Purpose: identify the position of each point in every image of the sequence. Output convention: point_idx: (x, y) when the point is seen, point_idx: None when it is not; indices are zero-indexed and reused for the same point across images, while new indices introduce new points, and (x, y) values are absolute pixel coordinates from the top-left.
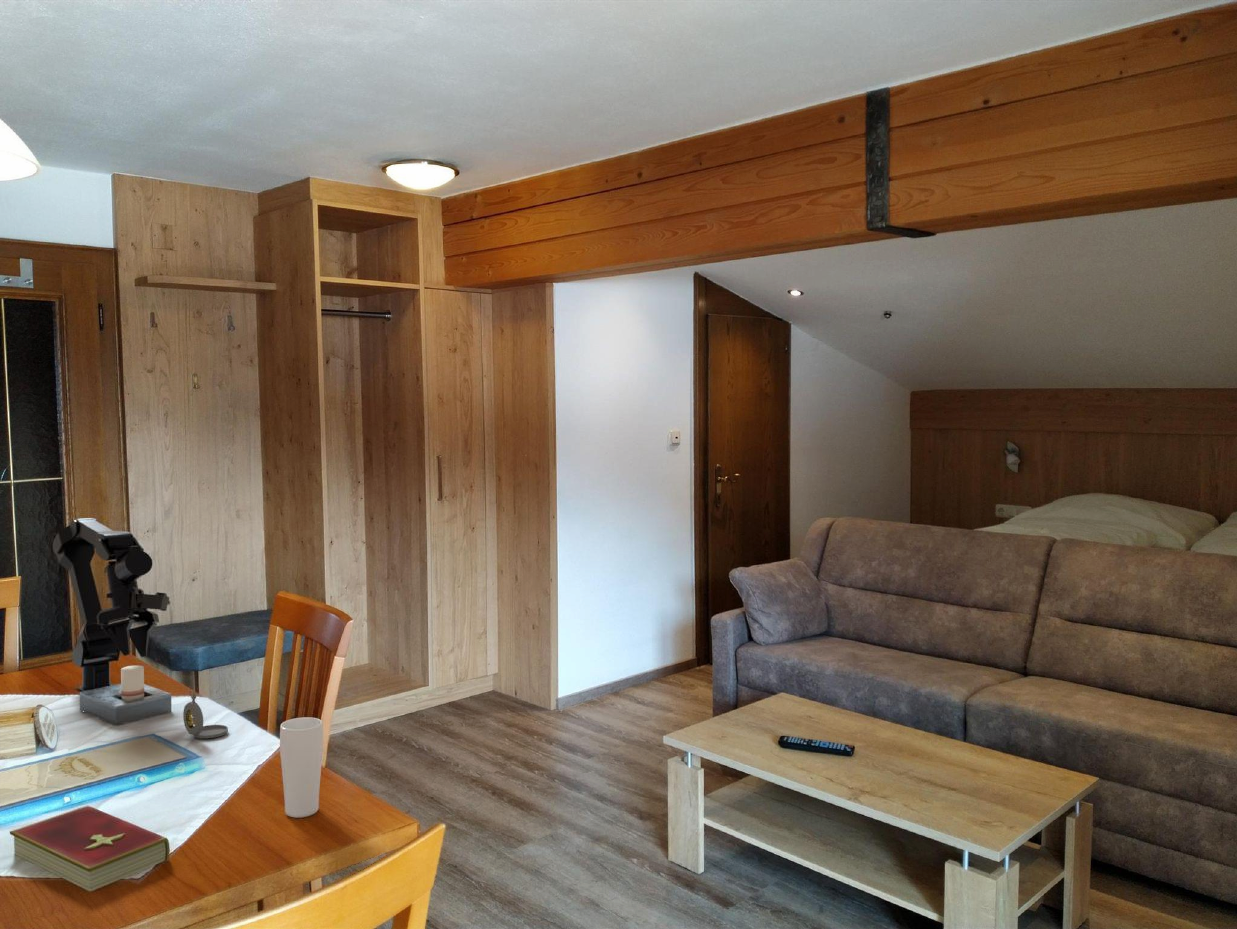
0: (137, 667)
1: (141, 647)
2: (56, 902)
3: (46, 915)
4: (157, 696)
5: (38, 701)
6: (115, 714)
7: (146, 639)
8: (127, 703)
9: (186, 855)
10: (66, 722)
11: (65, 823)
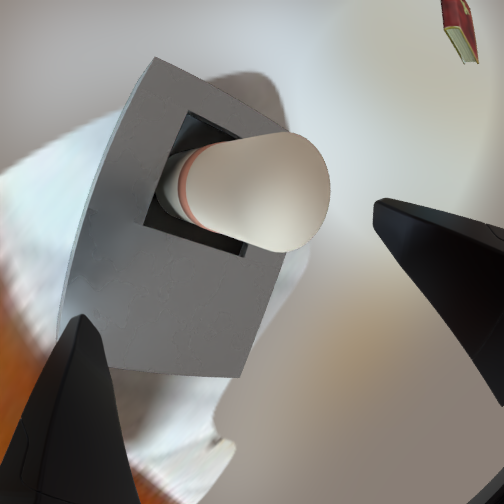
0: (270, 175)
1: (94, 388)
2: None
3: None
4: (201, 84)
5: (197, 463)
6: None
7: (52, 425)
8: None
9: None
10: (289, 291)
11: (468, 34)
